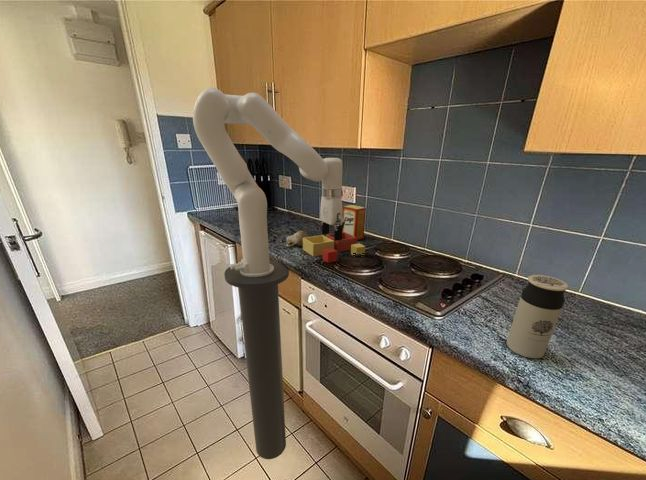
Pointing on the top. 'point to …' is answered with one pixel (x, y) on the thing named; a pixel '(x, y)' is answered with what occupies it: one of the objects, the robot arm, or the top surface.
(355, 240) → the red bin
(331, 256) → the red block
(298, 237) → the beige animal figurine
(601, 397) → the top surface
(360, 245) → the yellow block
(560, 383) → the top surface
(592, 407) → the top surface
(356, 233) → the baking soda box
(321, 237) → the yellow bin
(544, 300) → the travel mug
